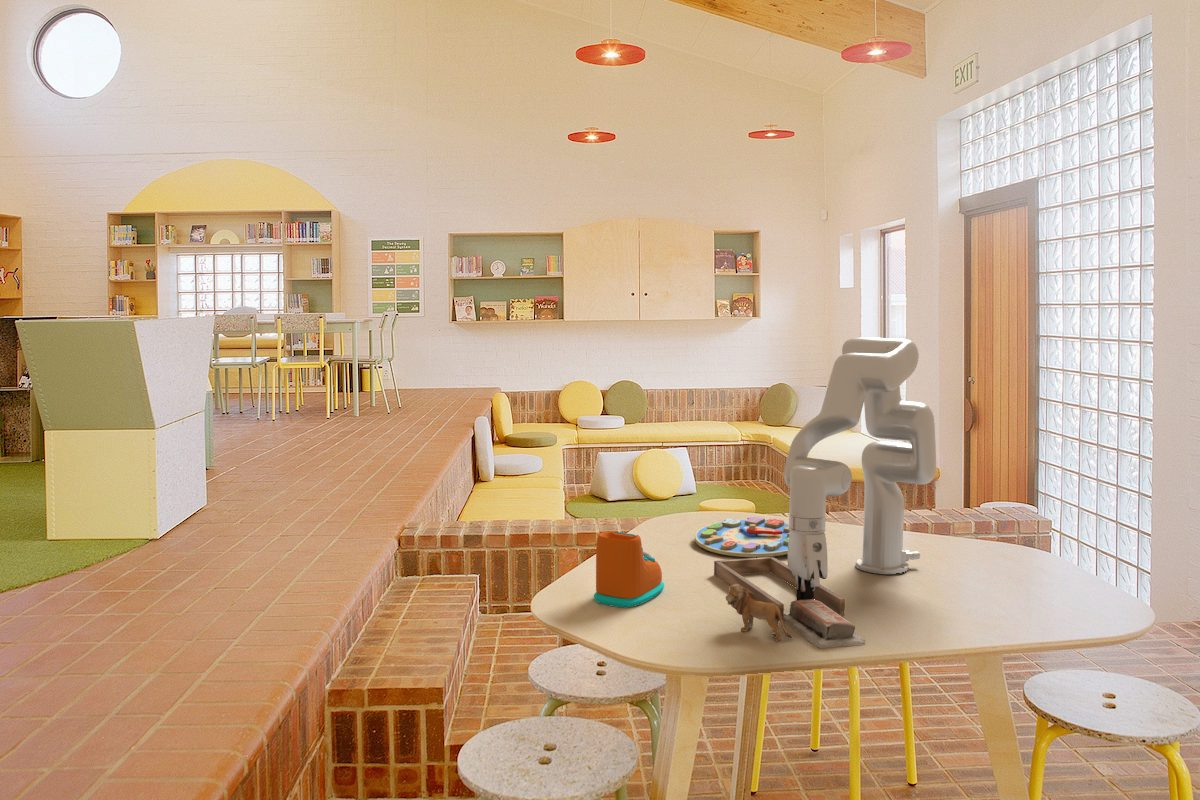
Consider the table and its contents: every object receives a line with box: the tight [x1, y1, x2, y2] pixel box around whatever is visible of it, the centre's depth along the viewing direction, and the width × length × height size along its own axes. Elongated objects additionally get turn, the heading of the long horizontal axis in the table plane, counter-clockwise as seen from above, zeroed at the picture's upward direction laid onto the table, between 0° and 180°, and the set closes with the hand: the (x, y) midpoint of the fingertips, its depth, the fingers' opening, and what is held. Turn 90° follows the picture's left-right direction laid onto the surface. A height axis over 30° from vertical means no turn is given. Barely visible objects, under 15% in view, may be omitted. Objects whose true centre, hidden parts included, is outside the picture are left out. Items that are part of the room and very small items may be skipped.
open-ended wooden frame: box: [713, 556, 846, 621], centre depth 225 cm, size 15×35×4 cm, turn 16°
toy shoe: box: [593, 530, 665, 608], centre depth 223 cm, size 12×20×15 cm, turn 150°
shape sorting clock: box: [694, 516, 790, 558], centre depth 268 cm, size 31×30×6 cm
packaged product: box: [783, 599, 866, 649], centre depth 200 cm, size 18×5×10 cm
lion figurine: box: [725, 584, 794, 642], centre depth 199 cm, size 15×5×9 cm, turn 53°
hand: (804, 607), depth 211 cm, fingers closed
